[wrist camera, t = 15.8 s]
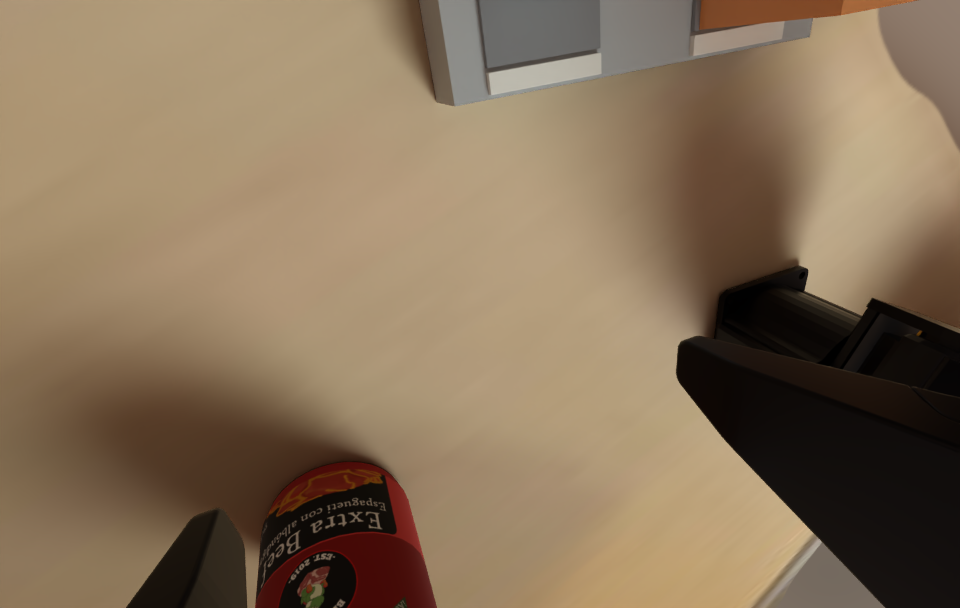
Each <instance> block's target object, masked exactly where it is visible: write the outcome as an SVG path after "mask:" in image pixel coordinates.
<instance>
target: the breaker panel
mask: <svg viewBox="0 0 960 608" xmlns="http://www.w3.org/2000/svg"><path fill="white" fill-rule="evenodd" d="M419 4H420V10H421V16H422V21H423V27H424V33H425V38H426V44H427V50H428V56H429V61H430V67H431V73H432V79H433V84H434V90H435V96H436V102H437V103H442V104H446V105H451V106H459V105H464V104H470V103H475V102H480V101H485V100H490V99H495V98H500V97H505V96H510V95H516V94H521V93H526V92H531V91H536V90H541V89H546V88H551V87H556V86H562V85H567V84H572V83H577V82H582V81H587V80H592V79H597V78H602V77H607V76H613V75H618V74H623V73H628V72H633V71H638V70H643V69H648V68H653V67H659V66H664V65H669V64H674V63H679V62H684V61H689V60H694V59H699V58H705V57H710V56H715V55H720V54H725V53H730V52H735V51H740V50H745V49H751V48H756V47H761V46H766V45H771V44H776V43H781V42H786V41H791V40H797V39H802V38H807V37H810V32H811V27H812V21H813V18H809V19H799V20H789V21H780V22H770V23H760V24H751V25H741V26H731V27H722V28H712V29H702V30H699V26H700V12H701V0H419Z"/></svg>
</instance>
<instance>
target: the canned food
mask: <svg viewBox="0 0 960 608" xmlns="http://www.w3.org/2000/svg"><path fill="white" fill-rule="evenodd" d="M255 608H437V606H436V602H435V598H434V595H433V591H432V587H431V583H430V580H429V576H428V572H427V569H426V565H425V561H424V557H423V554H422V550H421V546H420V542H419V539H418V535H417V531H416V527H415V524H414V520H413V516H412V512H411V509H410V505H409V501H408V499H407V496H406V494H405V492H404V490H403V489H402V488H401V486H400V485H399V484H398V482H397V481H396V480H395V479H394V478H393V477H392V475H390V474H389V473H388V472H386V471H385V470H383V469H381V468H379V467H376V466H374V465H371V464H366V463H361V462H342V463H334V464H329V465H326V466H322V467H319V468H316V469H314V470H312V471H310V472H307V473H305V474H303V475H302V476H300V477H299V478H297V479H296V480H294V481H292V482H291V483H290V484H289V485H288V486H287V487H286V488H285V489H284V490H282V492H281V493H280V494H279V495H278V497H277V498H276V499H275V501H274V503H273V505H272V507H271V509H270V511H269V513H268V515H267V517H266V520H265V522H264V524H263V529H262V534H261V543H260V556H259V568H258V580H257V592H256V605H255Z"/></svg>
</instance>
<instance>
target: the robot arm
mask: <svg viewBox="0 0 960 608" xmlns="http://www.w3.org/2000/svg"><path fill="white" fill-rule="evenodd" d="M807 277H808V269H807V268H804V267H802V266H797V267H794V268H791V269H788V270H785V271H782V272H779V273H776V274H773V275H770V276H767V277H764V278H761V279H758V280H755V281H752V282H749V283H746V284H743V285H740V286H737V287H734V288H731V289H728V290H726V291H724V292H723V293H722V294H721V296H720V299H719V306H718V314H717V323H716V331H715V339H711V338H707V337H703V336H694V337H691V338H689V339H686V340H683V341H681V342H680V344H679V346H678V353H677V366H676V375H677V379H678V381H679V383H680V384H681V386H682V387H683V388H684V389H685V391H686V392H687V393H688V395H689V396H690V397H691V398H692V400H693V401H694V402H695V403H696V405H697V406H698V407H699V408H700V410H701V411H702V412H703V414H704V415H705V416H706V417H707V419H708V420H709V421H710V422H711V424H712V425H713V426H714V427H715V429H716V430H717V431H718V432H719V434H720V435H721V436H722V437H723V438H724V440H725V441H726V442H727V443H728V444H729V445H730V446H731V447H732V448H733V450H734V451H735V452H736V453H737V454H738V455H739V456H740V457H741V458H742V459H743V460H744V461H745V462H746V463H747V464H748V465H749V466H750V467H751V468H752V469H753V470H754V472H755V473H756V474H757V475H758V476H759V477H760V478H761V479H762V480H763V481H764V482H765V483H766V484H767V485H768V486H769V487H770V488H771V489H772V490H773V491H774V492H775V493H776V494H777V495H778V497H779V498H780V499H781V500H782V501H783V502H784V503H785V504H786V505H787V506H788V507H789V508H790V509H791V510H792V511H793V512H794V513H795V514H796V515H797V516H798V517H799V518H800V519H801V521H802V522H803V523H804V524H805V525H806V526H807V527H808V528H809V529H810V530H811V531H812V532H813V533H814V534H815V535H816V536H817V537H818V538H819V539H820V540H821V541H822V542H823V543H824V544H825V546H826V547H827V548H828V549H829V550H830V551H831V552H832V553H833V554H834V555H835V556H836V557H837V558H838V559H839V560H840V561H841V562H842V563H843V564H844V565H845V566H846V567H847V568H848V569H849V570H850V572H851V573H852V574H853V575H854V576H855V577H856V578H857V579H858V580H859V581H860V582H861V583H862V584H863V585H864V586H865V587H866V588H867V589H868V590H869V591H870V592H871V594H873V596H874V597H875V598H876V599H877V600H878V601H879V602H880V603H881V604H882V605H883V606H884V607H885V608H960V329H959V328H957V327H954V326H951V325H949V324H946V323H943V322H941V321H938V320H936V319H933V318H930V317H928V316H925V315H922V314H920V313H917V312H914V311H911V310H908V309H905V308H902V307H899V306H896V305H893V304H890V303H887V302H884V301H881V300H878V299H875V298H871V300H870V301H869V303H868V304H867V306H866V307H868V308H867V310H866V311H865V313H864V314H863V316H861V315H859V314H856V313H854V312H852V311H849V310H847V309H845V308H843V307H840V306H838V305H836V304H833V303H831V302H829V301H826V300H824V299H822V298H819V297H817V296H815V295H812V294H810V293H808V292H806V291H804V290H805V286H806V281H807ZM920 330H921V331H922V332H921V334H920V335H919V336H918V335H917V333H918V332H919V331H920ZM126 608H247V591H246V567H245V549H244V544H243V540H242V538H241V536H240V534H239V533H238V531H237V529H236V528H235V526H234V525H233V523H232V521H231V520H230V518H229V517H228V515H227V514H226V512H225V511H224V510H223V509H221V508H215V509H212V510H209V511H207V512H204V513H201V514H198V515H196V516H194V517H193V518H192V519H191V520H190V521H189V522H188V524H187V525H186V527H185V528H184V529H183V531H182V532H181V533H180V535H179V536H178V537H177V539H176V540H175V542H174V543H173V544H172V546H171V547H170V548H169V550H168V551H167V552H166V554H165V555H164V557H163V558H162V559H161V561H160V562H159V563H158V565H157V566H156V567H155V569H154V570H153V572H152V573H151V574H150V576H149V577H148V578H147V580H146V581H145V582H144V584H143V585H142V587H141V588H140V589H139V591H138V592H137V593H136V595H135V596H134V597H133V599H132V600H131V602H130V603H129V604H128V606H127V607H126Z"/></svg>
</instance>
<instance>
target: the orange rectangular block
mask: <svg viewBox="0 0 960 608" xmlns="http://www.w3.org/2000/svg"><path fill="white" fill-rule="evenodd" d="M912 1H917V0H701V12H700V26H699V30H702V29H712V28H722V27H731V26H741V25H751V24H760V23H770V22H780V21H789V20H799V19H809V18H818V17H828V16H838V15H844V14H849V13H855V12H860V11H865V10H870V9H875V8H881V7H886V6H891V5H896V4H901V3H907V2H912Z"/></svg>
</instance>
